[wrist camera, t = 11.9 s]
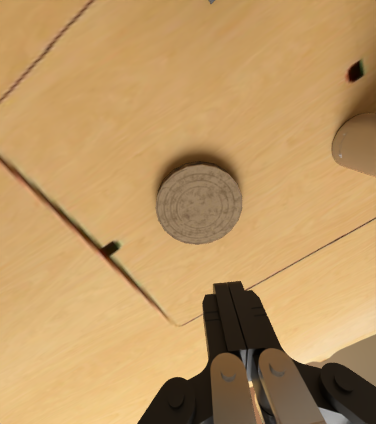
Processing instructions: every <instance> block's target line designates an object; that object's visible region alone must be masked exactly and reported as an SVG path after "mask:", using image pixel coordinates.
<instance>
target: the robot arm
mask: <svg viewBox="0 0 376 424" xmlns="http://www.w3.org/2000/svg"><path fill="white" fill-rule="evenodd" d="M332 155H333V157H334V160H335V161H336V162H337V163H338V164H339V165H341V166H343V167H346V168H349V169H352V170H355V171H358V172H361V173H364V174H367V175H370V176H374V177H376V113H363V114H360V115H357V116H355V117H353V118H351V119H350V120H348V121H347V122H346V123H345V124H344V125H343V126H342V127H341V128H340V130H339V131H338V132H337V134H336V136H335V138H334V141H333V145H332ZM202 304H203V318H204V328H205V336H206V344H207V351H208V359H209V360H208V363H207V366H206V367H205V369H204V370H203V371H202V372H201V373H200V374H198V375H196V376H195V377H193V378H191V379H189V380H186V379H184V378H181V377H175V378H172V379H169V380H168V381H167V382H166V383H164V385H163V386H162V387H161V389H160V390H159V392H158V393H157V395H156V396H155V398H154V399H153V401H152V402H151V404H150V405H149V407H148V408H147V410H146V411H145V413H144V414H143V416H142V417H141V419H140V420H139V422H138V423H137V424H257V423H256V419H255V414H254V408H253V404H252V399H251V393H250V388H249V383H248V381H252V383H253V387H254V390H255V403H256V406H257V409H258V412H259V415H260V418H261V421H262V424H376V387H375V386H374V385H372V384H371V383H369V382H368V381H366V380H365V379H363V378H362V377H360V376H359V375H357V374H356V373H354V372H353V371H352V370H350V369H349V368H347V367H345V366H343V365H341V364H338V363H327V364H325V365H324V366H323V367H322V369H320V368H317V367H313V366H309V365H305V364H302V363H299V362H297V361H295V360H293V359H292V358H291V357H289V356H288V355H287V354H286V353H285V352H284V350H283V349H282V347H281V345H280V343H279V341H278V339H277V336H276V334H275V332H274V330H273V327H272V325H271V323H270V321H269V318H268V316H267V314H266V312H265V309H264V308H263V305H262V303H261V300H260V298H259V297H258V296H257V295H256V294H255V293H254V292H253V291H252V290H249V291H245V290H244V288H243V285H242V283H241V281H236V282H227V283H216V284H213V294H208V295H205V297H204V300H203V303H202Z"/></svg>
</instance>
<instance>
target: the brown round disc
mask: <svg viewBox="0 0 376 424" xmlns="http://www.w3.org/2000/svg"><path fill="white" fill-rule="evenodd" d="M241 211H242V195H241V192H240V189H239V187H238V184H237V183H236V182H235V181H234V180H233V178H232V177H231V176H230V175H229V174H228V173H227V172H226V171H225V170H224V169H222V168H220V167H219V166H217V165H215V164H212V163H206V162H201V161H199V162H193V163H186V164H184V165H182V166H180V167H178V168H176V169H174V170H173V171H172V172H171V173H170V174H169V175H168V176H167V177H166V178H165V179H164V180H163V182H162V184H161V186H160V188H159V190H158V195H157V202H156V212H157V217H158V221H159V222H160V224H161V225H162V227H163V229H164V230H165V231H166V232H167V233H168V234H169V235H171V236H172V237H173V238H174V239H177V240H179V241H181V242H184V243H188V244H196V245H199V244H206V243H211V242H213V241H216V240H218V239H220V238H222V237H223V236H225V235H226V234H227V233H228V232H230V231H231V230H232V228H233V227H234V226H235V224H236V223H237V221H238V220H239V217H240V214H241Z"/></svg>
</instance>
